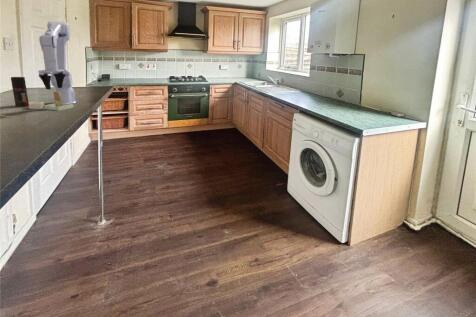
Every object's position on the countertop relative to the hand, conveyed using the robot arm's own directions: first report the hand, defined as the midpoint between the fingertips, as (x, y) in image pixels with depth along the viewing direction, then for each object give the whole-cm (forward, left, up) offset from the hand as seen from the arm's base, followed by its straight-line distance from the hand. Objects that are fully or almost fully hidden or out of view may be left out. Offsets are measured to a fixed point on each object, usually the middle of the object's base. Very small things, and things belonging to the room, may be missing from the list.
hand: (54, 88), depth 166 cm
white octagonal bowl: (+5, -7, -10) cm, 14 cm away
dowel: (0, +2, -10) cm, 10 cm away
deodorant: (+4, -18, -11) cm, 21 cm away
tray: (0, +2, -10) cm, 10 cm away
